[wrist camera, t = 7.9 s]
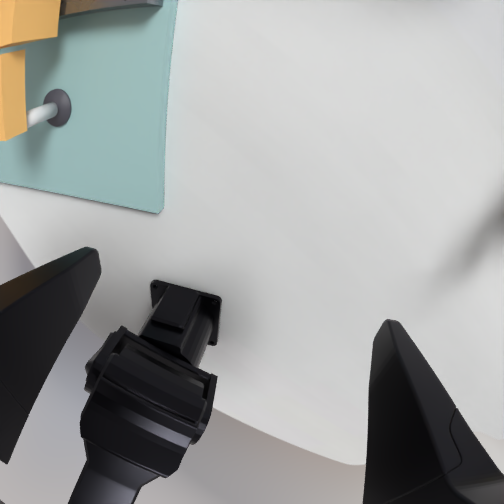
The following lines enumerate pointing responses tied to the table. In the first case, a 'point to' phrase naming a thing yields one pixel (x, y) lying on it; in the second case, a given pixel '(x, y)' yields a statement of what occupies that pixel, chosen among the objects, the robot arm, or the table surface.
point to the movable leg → (22, 61)
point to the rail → (101, 6)
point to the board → (98, 108)
